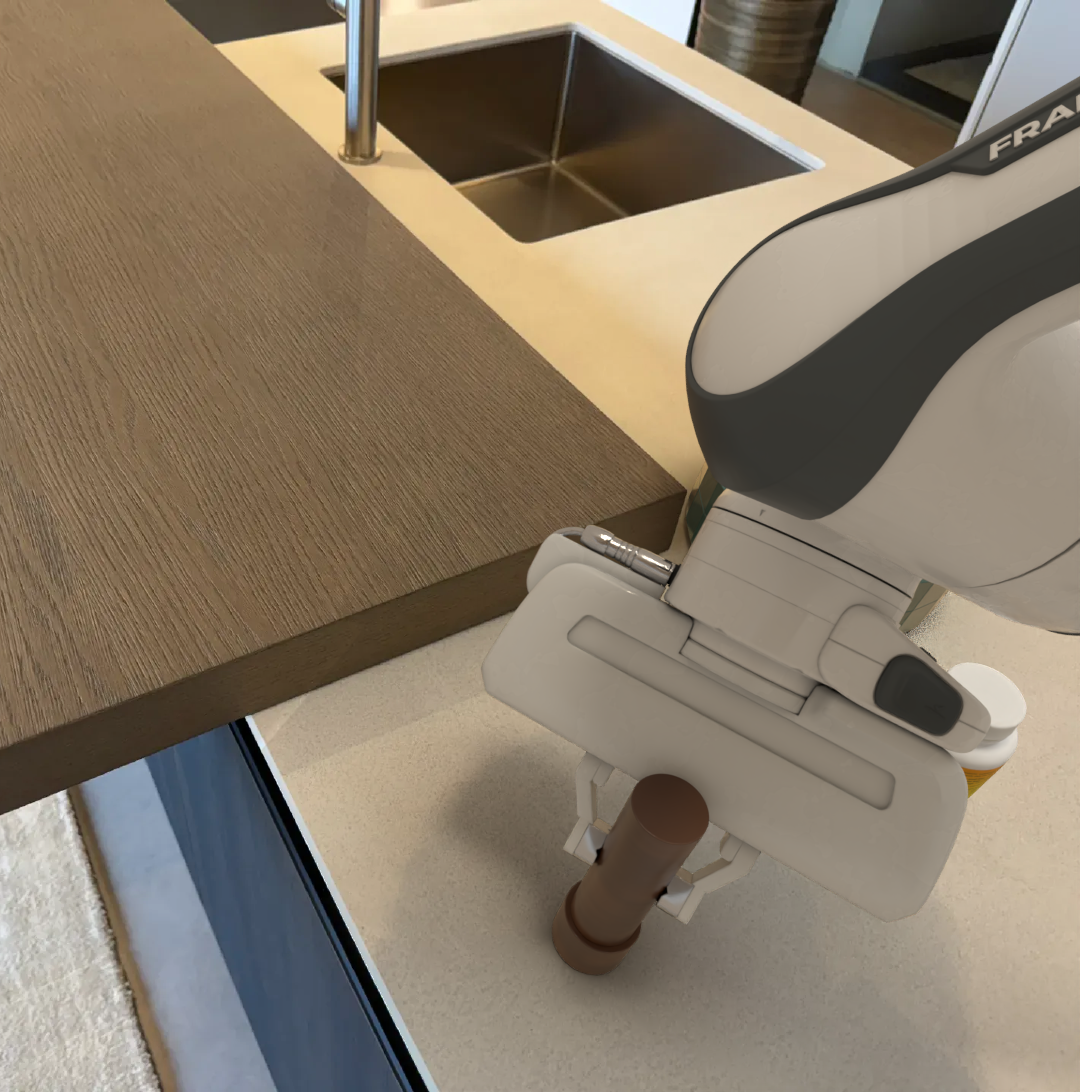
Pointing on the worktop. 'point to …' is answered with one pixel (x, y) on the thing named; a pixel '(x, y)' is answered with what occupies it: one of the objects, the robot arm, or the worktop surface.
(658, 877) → the brown flanged cylinder
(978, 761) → the supplement bottle
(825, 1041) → the worktop surface
